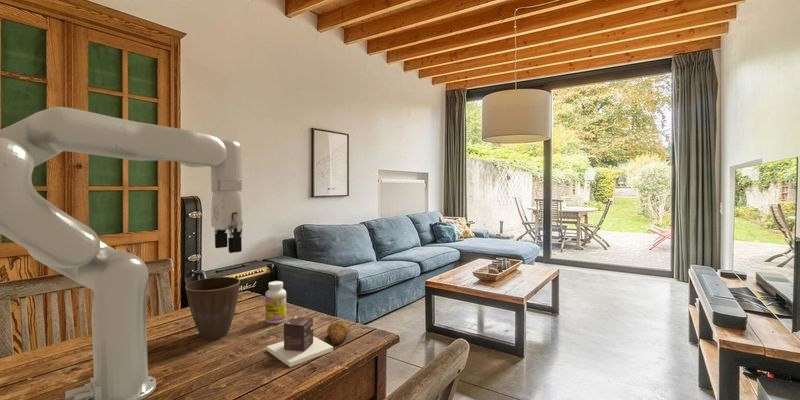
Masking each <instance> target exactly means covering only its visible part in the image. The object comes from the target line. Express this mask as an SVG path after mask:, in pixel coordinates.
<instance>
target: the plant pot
mask: <svg viewBox="0 0 800 400" xmlns="http://www.w3.org/2000/svg"><path fill="white" fill-rule="evenodd" d="M240 286H241V280H240V279H239V278H238V277H232V276H217V277H216V276H213V277H207V278H201V279H197V280H194V281H191V282H189V283H187V284H186V285H185V286H184V287H185V294H186V298H187V303H188V307H189V311H190V313H191V316H192V319H193V322H194V325H195V327H196V329H197V331H198V334H199V335H200V338H202V339H205V340H215V339H216V340H217V339H220V338H222V337H225V336H227V335H228V333H229V330H230V328H231V325H232V323H233V322H232V321H233V318H234V316H235V312H236V309H237V308H236V307H237V305H238V304H237V303H238V298H239V292H240Z"/></svg>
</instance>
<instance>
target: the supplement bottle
mask: <svg viewBox="0 0 800 400" xmlns="http://www.w3.org/2000/svg"><path fill="white" fill-rule="evenodd" d="M283 287H284V282H283V281H281V280H274V281H273V280H272V281H270V282H268V290H266V292H265V294H264V295H265V298H264V299H265V322H266V323H268V324H279V323H282V322H285V321H286V319H287V291H286V290H285V289H284V288H283Z"/></svg>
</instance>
